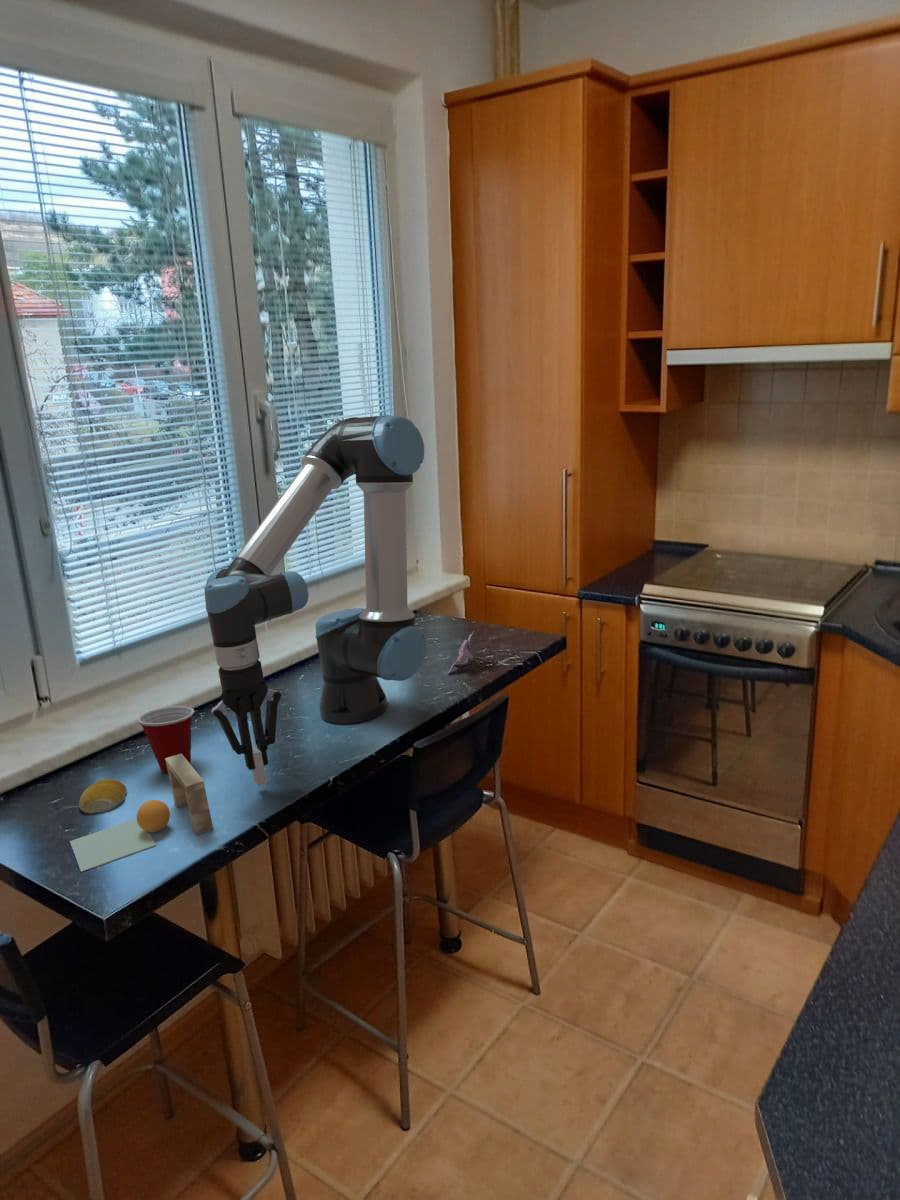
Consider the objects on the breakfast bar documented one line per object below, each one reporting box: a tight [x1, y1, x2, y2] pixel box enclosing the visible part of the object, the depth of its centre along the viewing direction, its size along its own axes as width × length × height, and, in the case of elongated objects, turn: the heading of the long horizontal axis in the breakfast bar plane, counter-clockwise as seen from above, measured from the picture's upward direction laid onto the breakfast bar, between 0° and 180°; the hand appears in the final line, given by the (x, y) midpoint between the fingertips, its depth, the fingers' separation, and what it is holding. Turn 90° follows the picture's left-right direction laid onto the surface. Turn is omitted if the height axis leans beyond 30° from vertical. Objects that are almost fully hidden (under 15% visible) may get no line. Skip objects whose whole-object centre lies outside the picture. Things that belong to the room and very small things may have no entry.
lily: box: [447, 630, 482, 675], centre depth 212 cm, size 12×12×10 cm
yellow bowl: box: [78, 778, 127, 814], centre depth 163 cm, size 8×9×4 cm
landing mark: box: [69, 818, 157, 873], centre depth 147 cm, size 12×12×1 cm
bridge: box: [165, 753, 214, 836], centre depth 153 cm, size 3×14×9 cm, turn 32°
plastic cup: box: [137, 705, 195, 775], centre depth 173 cm, size 11×11×12 cm
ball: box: [136, 799, 171, 833], centre depth 150 cm, size 6×6×6 cm
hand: (260, 782), depth 160 cm, fingers closed
